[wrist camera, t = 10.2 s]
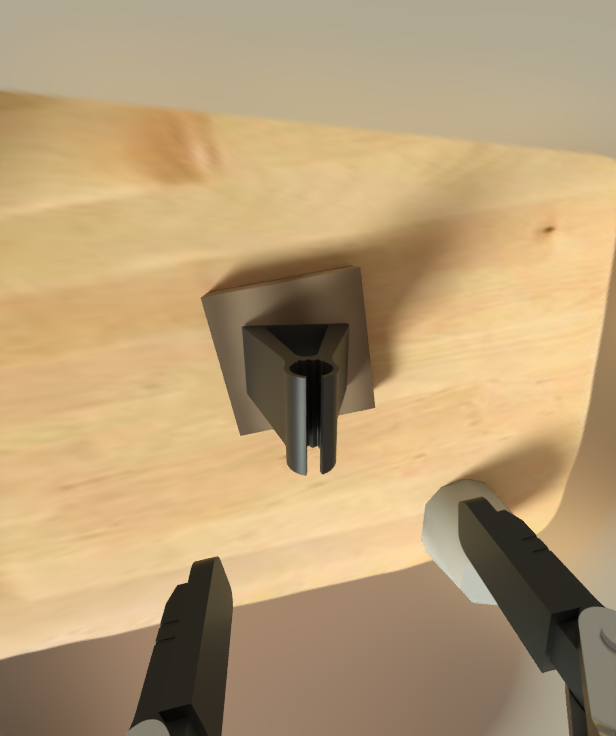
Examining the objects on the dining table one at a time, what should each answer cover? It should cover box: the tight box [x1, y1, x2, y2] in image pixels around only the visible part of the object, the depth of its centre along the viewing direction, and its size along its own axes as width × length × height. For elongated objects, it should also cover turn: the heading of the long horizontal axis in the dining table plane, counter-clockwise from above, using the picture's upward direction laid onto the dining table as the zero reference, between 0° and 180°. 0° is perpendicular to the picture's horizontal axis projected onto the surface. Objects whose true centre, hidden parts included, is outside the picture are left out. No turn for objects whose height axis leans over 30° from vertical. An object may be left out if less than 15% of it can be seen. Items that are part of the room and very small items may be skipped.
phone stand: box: [242, 323, 349, 476], centre depth 23 cm, size 9×6×12 cm, turn 89°
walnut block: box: [201, 266, 375, 436], centre depth 30 cm, size 13×13×3 cm
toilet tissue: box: [421, 479, 514, 605], centre depth 38 cm, size 9×13×9 cm
